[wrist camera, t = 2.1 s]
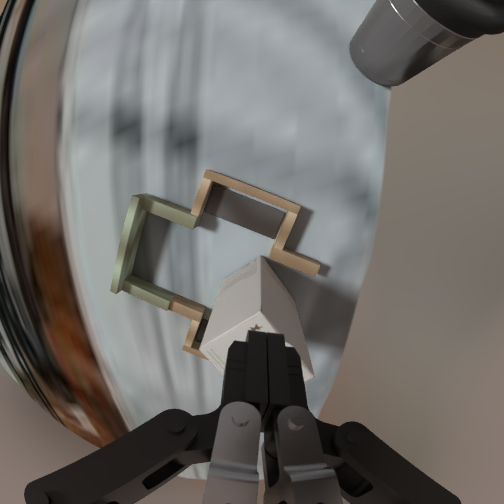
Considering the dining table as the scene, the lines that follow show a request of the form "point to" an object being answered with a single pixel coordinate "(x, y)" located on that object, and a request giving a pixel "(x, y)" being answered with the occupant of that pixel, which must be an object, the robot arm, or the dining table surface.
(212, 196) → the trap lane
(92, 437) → the dining table surface
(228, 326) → the skincare box
